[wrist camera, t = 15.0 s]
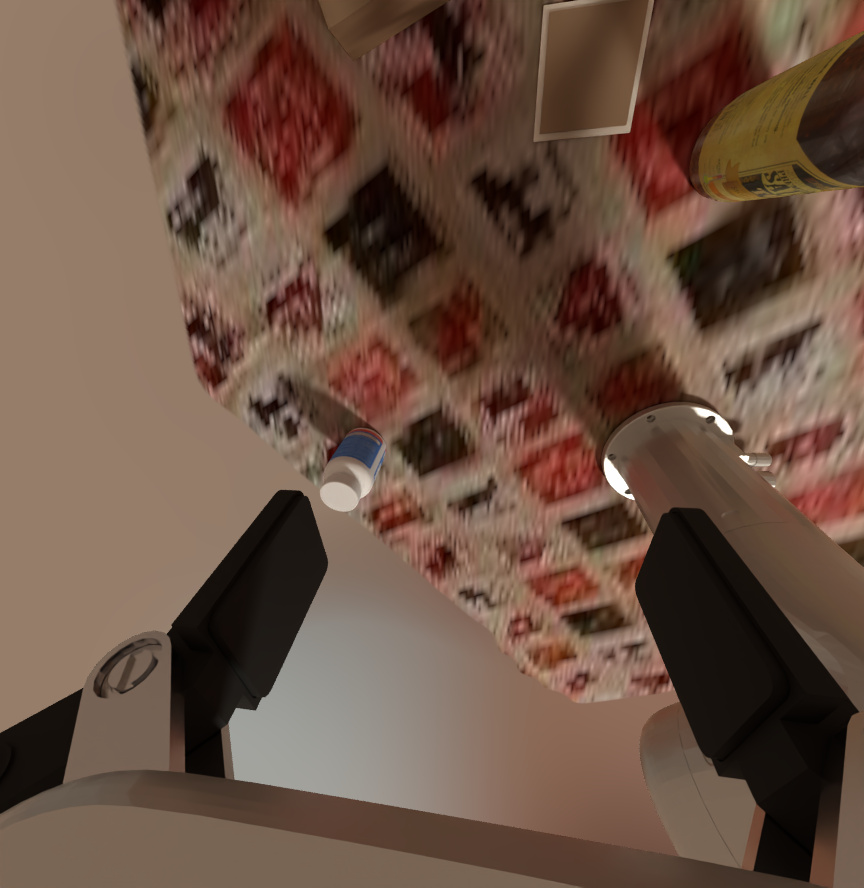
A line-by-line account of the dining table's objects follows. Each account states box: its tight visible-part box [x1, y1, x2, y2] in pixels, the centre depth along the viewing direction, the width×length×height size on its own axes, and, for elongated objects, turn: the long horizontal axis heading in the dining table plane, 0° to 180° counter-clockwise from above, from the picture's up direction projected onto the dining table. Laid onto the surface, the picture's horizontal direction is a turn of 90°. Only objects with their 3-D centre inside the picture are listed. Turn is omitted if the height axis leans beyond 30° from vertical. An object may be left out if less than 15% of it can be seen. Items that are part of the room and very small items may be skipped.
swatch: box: [533, 0, 654, 142], centre depth 24 cm, size 7×7×1 cm
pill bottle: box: [320, 428, 386, 511], centre depth 39 cm, size 6×5×10 cm
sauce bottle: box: [689, 31, 864, 202], centre depth 17 cm, size 7×6×20 cm
